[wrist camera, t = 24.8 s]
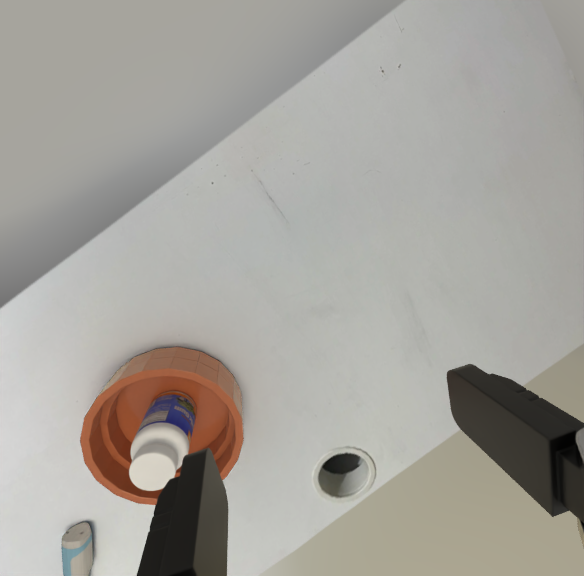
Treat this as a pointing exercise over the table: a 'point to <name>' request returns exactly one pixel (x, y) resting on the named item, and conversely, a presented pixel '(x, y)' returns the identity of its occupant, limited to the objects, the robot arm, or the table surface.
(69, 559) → the white and blue rod
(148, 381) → the bowl
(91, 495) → the table surface
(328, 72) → the table surface
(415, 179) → the table surface
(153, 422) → the pill bottle
